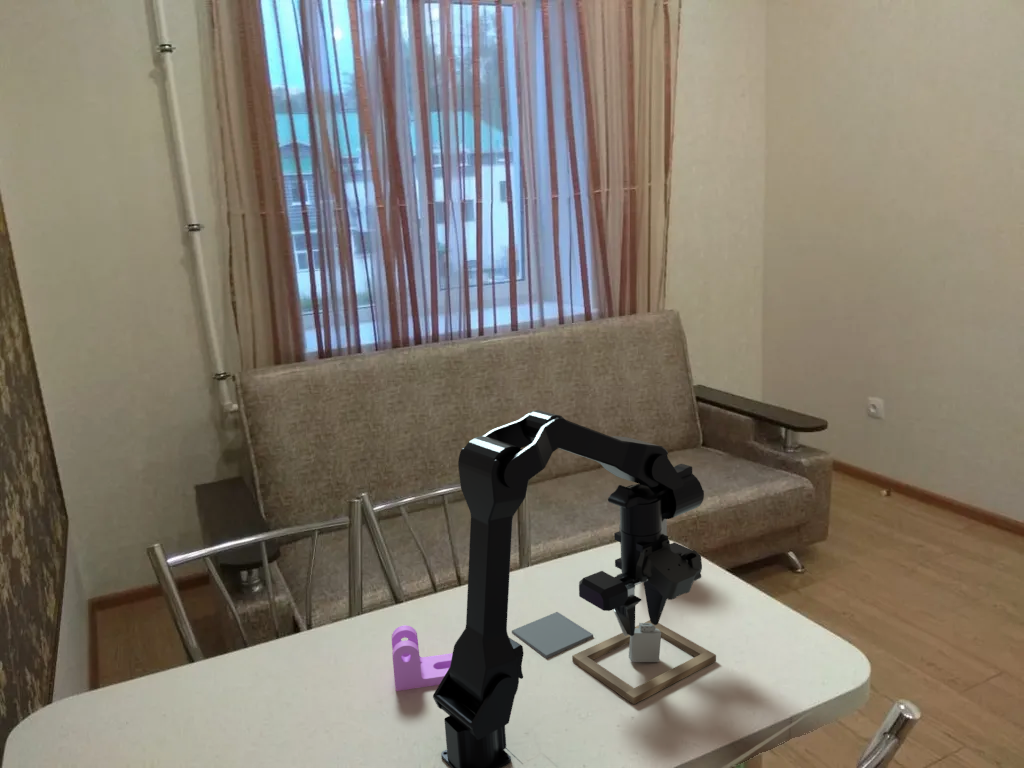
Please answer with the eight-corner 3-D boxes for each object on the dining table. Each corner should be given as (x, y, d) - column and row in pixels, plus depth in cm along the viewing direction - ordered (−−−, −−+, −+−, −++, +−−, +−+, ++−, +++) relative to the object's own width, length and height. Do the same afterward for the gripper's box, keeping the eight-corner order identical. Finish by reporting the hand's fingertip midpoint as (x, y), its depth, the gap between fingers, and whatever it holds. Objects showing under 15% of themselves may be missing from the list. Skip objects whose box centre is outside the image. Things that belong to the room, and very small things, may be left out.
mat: (546, 658, 118) (546, 655, 118) (511, 633, 125) (511, 630, 125) (593, 637, 123) (593, 634, 123) (557, 615, 130) (557, 611, 130)
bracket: (395, 692, 112) (391, 647, 111) (394, 669, 118) (390, 627, 116) (487, 678, 114) (484, 634, 113) (482, 657, 120) (479, 615, 118)
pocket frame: (633, 704, 106) (633, 697, 106) (572, 661, 117) (572, 655, 117) (716, 661, 115) (716, 654, 115) (652, 625, 125) (651, 619, 125)
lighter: (655, 656, 117) (660, 603, 116) (659, 662, 115) (663, 608, 114) (608, 656, 116) (612, 603, 115) (611, 661, 114) (615, 607, 114)
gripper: (631, 567, 100) (633, 678, 103) (731, 527, 110) (730, 630, 113) (574, 539, 109) (578, 642, 112) (672, 504, 119) (673, 600, 122)
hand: (642, 629), depth 115 cm, fingers closed on lighter, 4 cm apart
